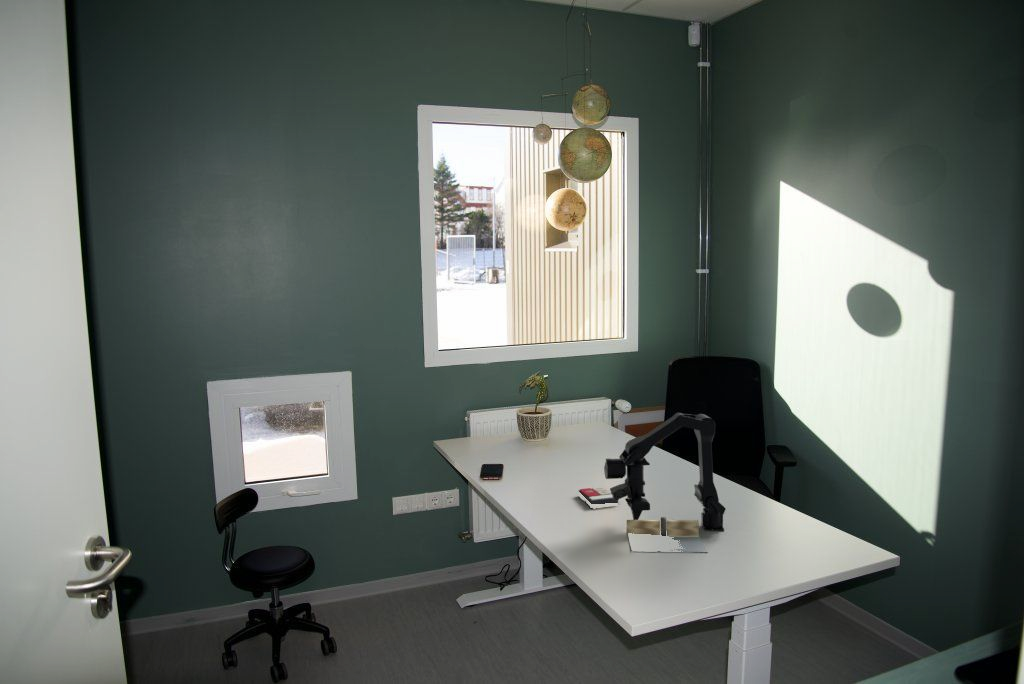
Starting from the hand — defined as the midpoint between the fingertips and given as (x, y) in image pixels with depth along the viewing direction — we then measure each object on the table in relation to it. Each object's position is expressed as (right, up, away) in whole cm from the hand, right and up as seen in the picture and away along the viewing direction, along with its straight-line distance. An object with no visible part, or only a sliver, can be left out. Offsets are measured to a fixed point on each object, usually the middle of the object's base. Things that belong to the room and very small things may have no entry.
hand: (635, 521), depth 230 cm
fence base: (+14, -4, -5) cm, 15 cm away
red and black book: (-9, -1, +30) cm, 32 cm away
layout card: (+8, -4, -9) cm, 13 cm away
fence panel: (+2, -3, -4) cm, 5 cm away
